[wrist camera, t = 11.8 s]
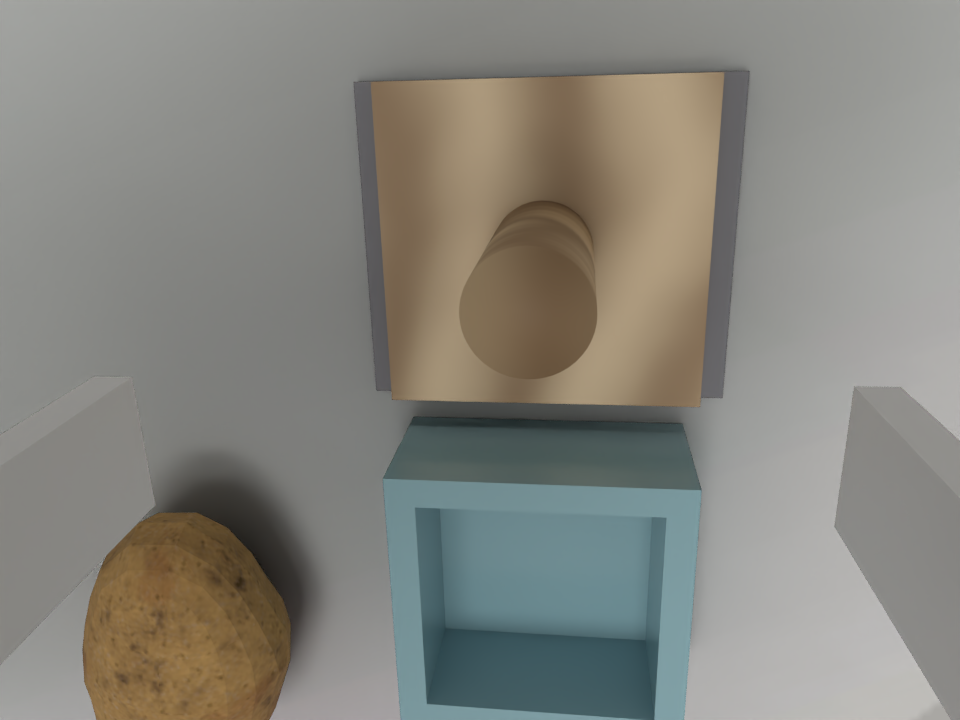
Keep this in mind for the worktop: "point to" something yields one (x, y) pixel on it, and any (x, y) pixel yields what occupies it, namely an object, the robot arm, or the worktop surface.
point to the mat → (721, 239)
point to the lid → (548, 236)
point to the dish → (542, 569)
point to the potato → (184, 627)
